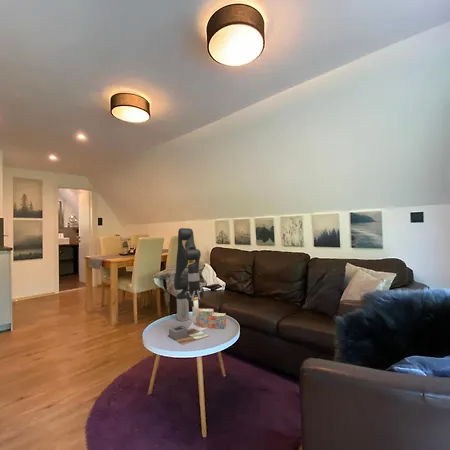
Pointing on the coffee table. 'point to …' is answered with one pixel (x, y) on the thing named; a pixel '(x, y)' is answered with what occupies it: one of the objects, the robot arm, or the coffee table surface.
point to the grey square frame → (178, 332)
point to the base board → (191, 337)
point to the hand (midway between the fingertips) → (195, 305)
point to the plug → (195, 306)
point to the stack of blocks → (211, 319)
